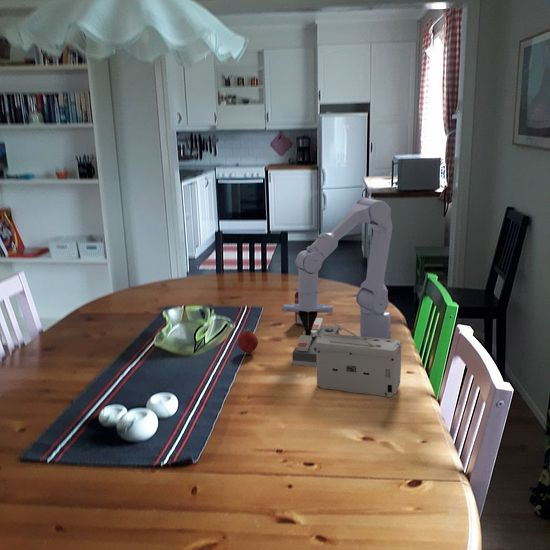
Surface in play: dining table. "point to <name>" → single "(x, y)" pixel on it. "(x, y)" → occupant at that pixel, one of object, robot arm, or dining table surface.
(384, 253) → the robot arm
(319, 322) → the rocker
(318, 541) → the dining table surface
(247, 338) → the onion
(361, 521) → the dining table surface
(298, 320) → the soda can
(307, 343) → the rocker
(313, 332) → the rocker middle
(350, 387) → the stereo radio cassette player
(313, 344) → the power strip
